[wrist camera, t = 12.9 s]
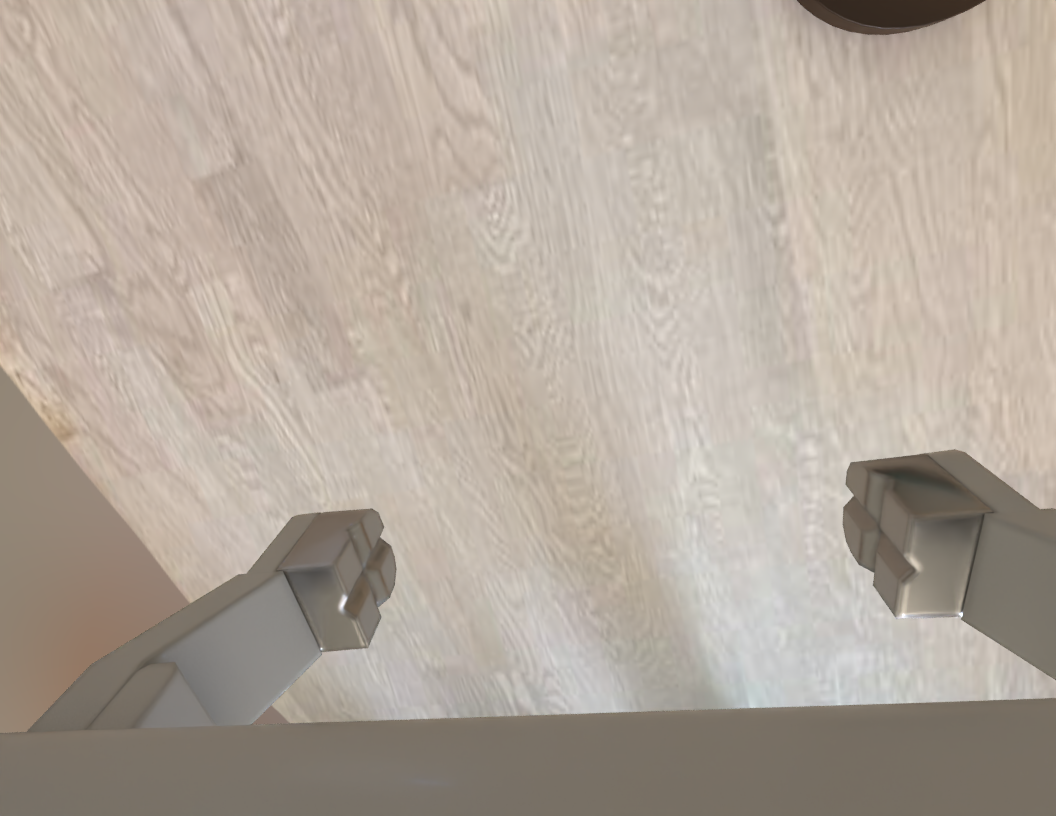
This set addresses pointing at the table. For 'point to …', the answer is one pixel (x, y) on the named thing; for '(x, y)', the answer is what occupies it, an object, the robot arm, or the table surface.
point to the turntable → (885, 13)
